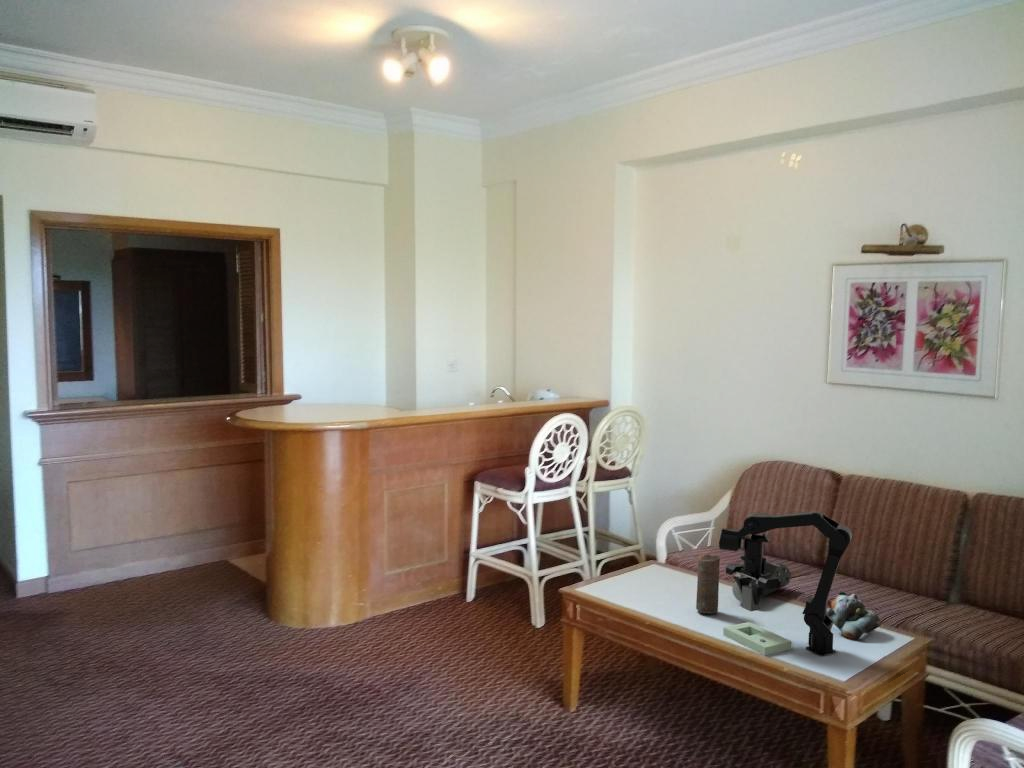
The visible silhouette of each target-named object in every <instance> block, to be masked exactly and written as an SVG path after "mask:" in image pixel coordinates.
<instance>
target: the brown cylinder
mask: <svg viewBox="0 0 1024 768" xmlns="http://www.w3.org/2000/svg"><path fill="white" fill-rule="evenodd" d="M720 559H721V558H720V555H717V554H712V553H711V554H701V555H699V556H698V563H697V585H696V587H697V588H696V601H695V602H696V603H695V604H696V605H695V608H696V610H697V611H698V612H699V613H700V614H705V615H707V614H710V615H711V614H715V613H718V610H719V590H720V589H719V585H720V583H719V582H720V564H721V563H720V562H721V560H720Z"/></svg>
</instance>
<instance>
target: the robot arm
mask: <svg viewBox="0 0 1024 768" xmlns="http://www.w3.org/2000/svg"><path fill="white" fill-rule="evenodd" d="M743 521H744V522H743V526H741V528H740V529H739V530H738V529H736V530H735V529H729V528H728V527H727V528H726V527H723V528H722V529H721V533H720V537H719V540H718V546H719V550H720V551H721V550H722V551H727V552H728V551H729V552H737V553H738V552H739V551H740V550H742V549H743V555H740V560H742V561H743V564H742V563H740V562H735V563H728V564H727V565H726V567H725V574H728V575H730V576H733V579H734V580H736V582H737V584H738V586H739V588H740V590H741V593H742V586H743V585H749V584H750V582H751V580H752V579H754V580H757V582H756V584H753V585H752V591H753V598H754V603H755V605H758V604H759V602H760V599H761V597H762V595H763V593H764V591H765V589H774V588H779V587H780V584H781V581H780V579H779V578H777V577H774V576H771V575H768V576H762V574H764V575H765V574H767V573H770V574H772V575H775V572H776V569H777V566H776V565H773V564H774V563H770V562H767V558H766V557H765V556H764V543H769V542H770V540H771V537H769V536H768V535H767V533H766V532H769V531H772V530H775V529H787V528H798V527H809V526H811V527H812V526H813V527H814V528H816V529H817V530H818V531H820V532H821V534H822V535H823V536H824V537H826V538H827V539H828V548H827V556H826V559H825V563H824V566H823V568H822V573H821V575H820V579H819V581H818V585H817V588H816V591H815V594H814V595H813V597H811V596H809V595H808V596H807V599H806V601H805V605H804V606H805V607H804V608H803V611H802V613H801V614H802V615H803V621H804V623H805V625H807V627H809V632H808V643H807V644H808V645H807V646H805V650H807V651H809V652H812V653H814V654H817V655H819V656H821V657H824V656H829V655H832V654H837V650H835V649H834V633H833V632H832V628H833V625H834V624H833V621H832V620H831V619H830V618H829V617H828V616H827V615H826V612H827V601H828V598H829V595H830V592H831V588H832V586H833V583H834V579H835V576H836V574H837V570H838V567H839V565H840V562H841V561H840V560H841V559H842V557H843V556H844V553H845V551H846V550H847V548H848V546H849V544H850V543H851V540H852V537H853V532H852V530H851V529H850V527H849V526H847V525H845V524H840V523H839V522H838V521H836V520H834V519H833V518H831V517H829V516H827V515H825V514H824V513H823V512H822V511H820V510H813V511H806V512H794V513H783V514H770V513H764V512H763V513H761V512H752V513H750V514H749V515H748V516H747V517H746V518H745V519H744V520H743ZM762 598H763V597H762Z"/></svg>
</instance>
